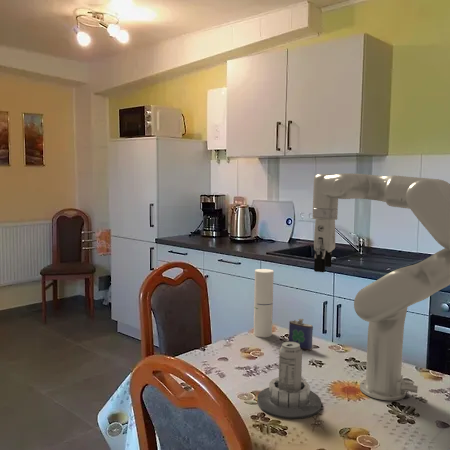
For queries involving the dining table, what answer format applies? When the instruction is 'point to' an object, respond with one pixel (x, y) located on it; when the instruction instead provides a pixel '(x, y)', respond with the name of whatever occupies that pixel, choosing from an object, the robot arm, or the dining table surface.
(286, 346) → the energy drink can
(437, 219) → the robot arm
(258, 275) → the cylindrical container
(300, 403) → the rosette socket
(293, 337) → the flask
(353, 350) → the dining table surface
